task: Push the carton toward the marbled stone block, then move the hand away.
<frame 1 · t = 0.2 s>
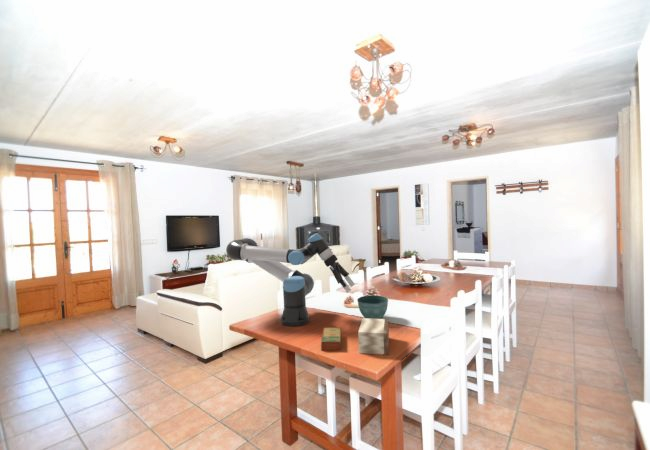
hand: (351, 288, 168), 15 cm above the table, tool tilted 35°, fingers open, 13 cm apart
marbled stone block: (372, 344, 129), on the table
flower pot: (373, 319, 161), on the table
carton: (331, 343, 133), on the table
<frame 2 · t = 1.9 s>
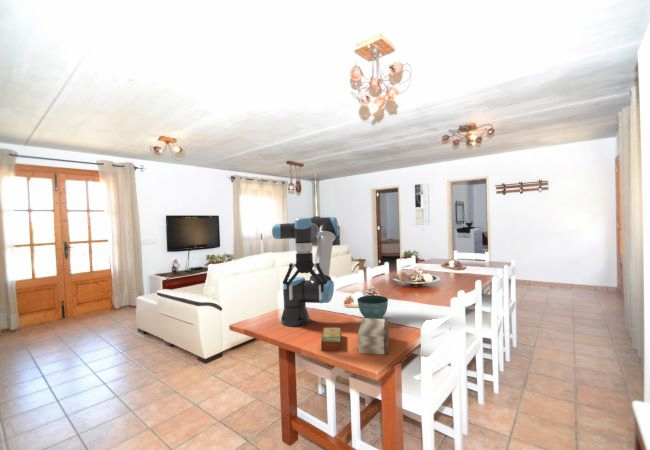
hand: (305, 299, 136), 19 cm above the table, tool pointing down, fingers open, 13 cm apart
nothing on the table moved.
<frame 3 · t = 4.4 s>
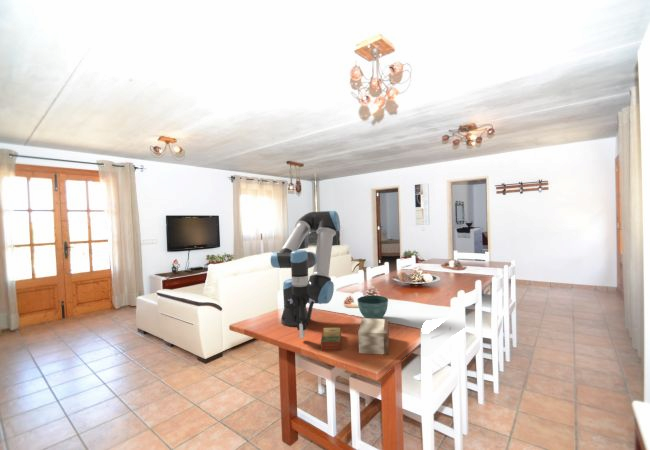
hand: (302, 337, 136), 2 cm above the table, tool pointing down, fingers closed
nothing on the table moved.
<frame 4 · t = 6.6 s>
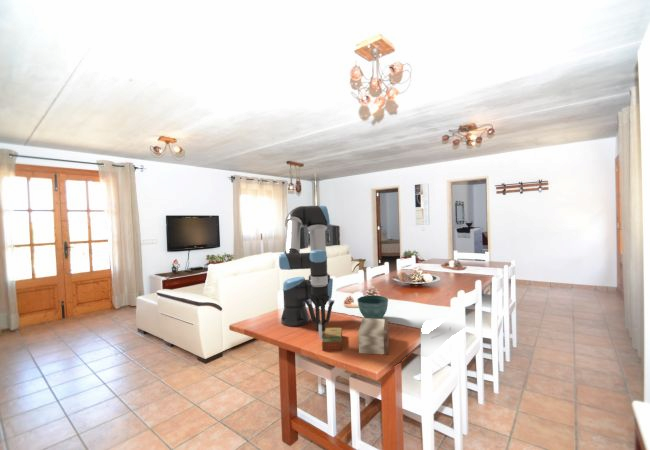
hand: (321, 338, 133), 2 cm above the table, tool pointing down, fingers closed
nothing on the table moved.
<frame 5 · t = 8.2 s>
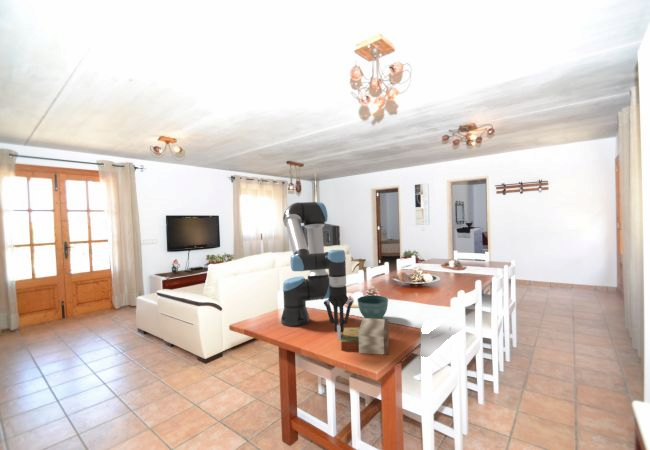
hand: (339, 339, 132), 2 cm above the table, tool pointing down, fingers closed
carton: (351, 344, 132), on the table, touching gripper
everything else where it was.
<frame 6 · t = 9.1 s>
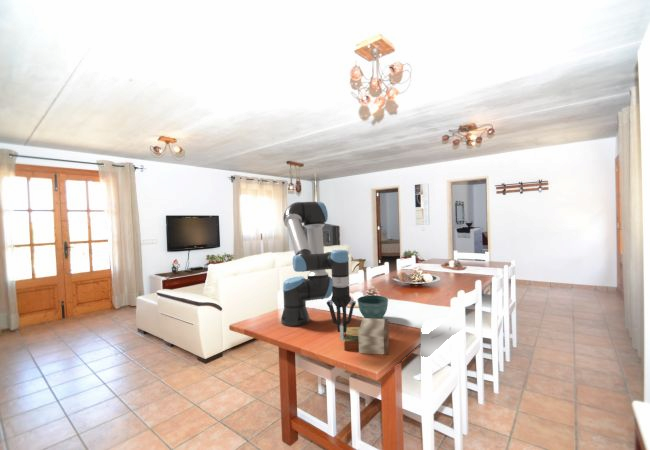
hand: (342, 339, 131), 2 cm above the table, tool pointing down, fingers closed
carton: (354, 343, 132), on the table, touching gripper
everything else where it was.
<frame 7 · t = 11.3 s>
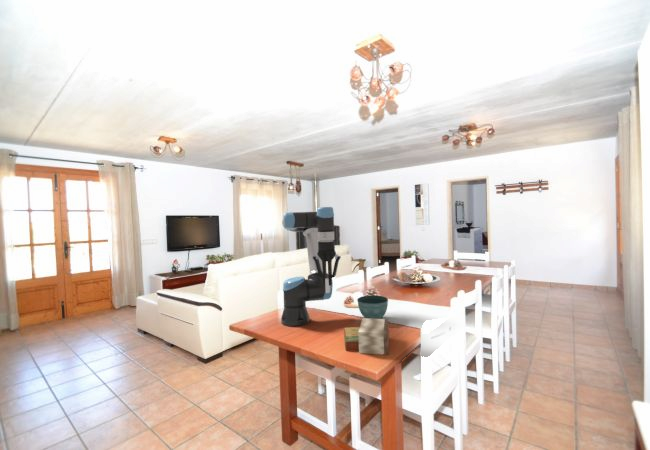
hand: (327, 292, 138), 21 cm above the table, tool pointing down, fingers closed
carton: (354, 343, 132), on the table
everything else where it was.
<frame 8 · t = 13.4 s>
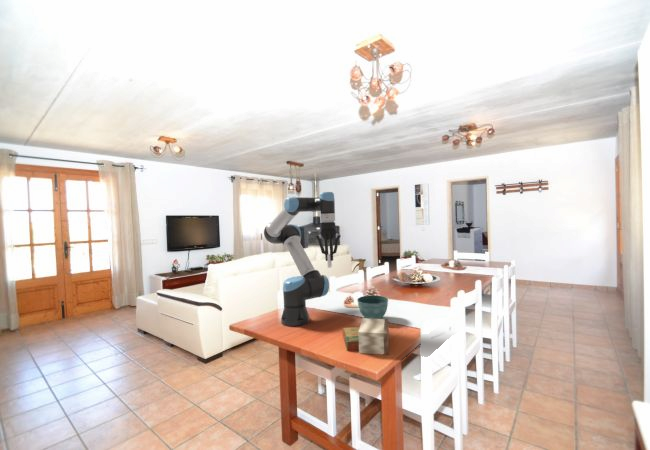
hand: (329, 267, 157), 29 cm above the table, tool pointing down, fingers closed
nothing on the table moved.
at the end: carton inside the target area on the table beside the marbled stone block (1.6 cm from its centre), on the table; carton tilted 0° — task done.
